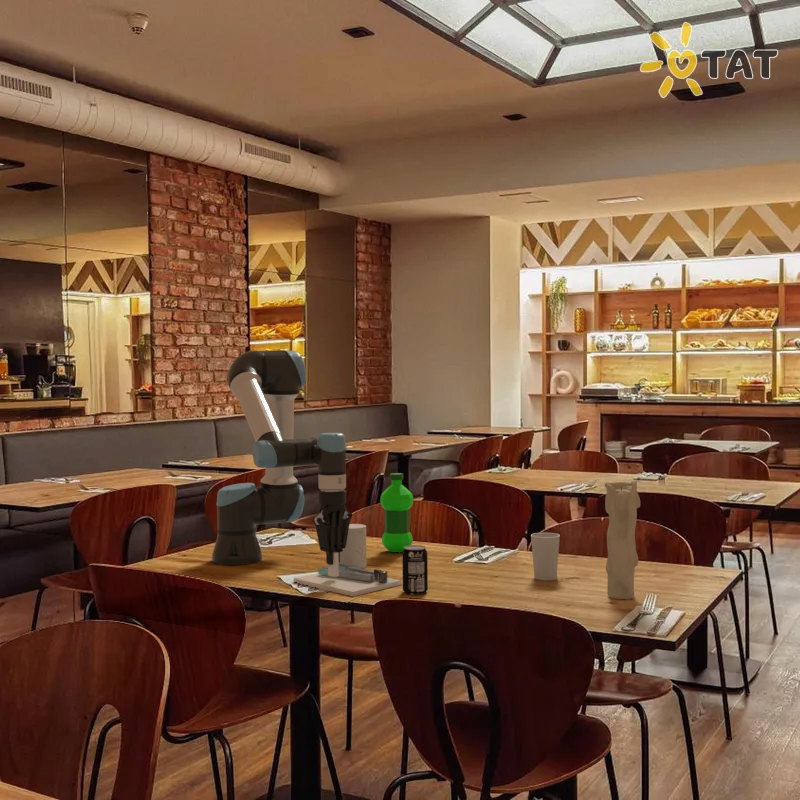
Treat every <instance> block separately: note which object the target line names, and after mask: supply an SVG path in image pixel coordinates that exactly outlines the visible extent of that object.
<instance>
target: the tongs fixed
mask: <svg viewBox="0 0 800 800" xmlns="http://www.w3.org/2000/svg"><path fill="white" fill-rule="evenodd" d="M339 570H345V571H352V572H360V573H367V574H374V578H375V580H377V581H379V583H387V582H388V578H389V577H388V571H387V570H386V571H385V570H382V569H378V568H375V569H366V568H357V567H352V566H348V565H343V564H339Z"/></svg>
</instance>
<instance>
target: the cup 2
mask: <svg viewBox="0 0 800 800" xmlns="http://www.w3.org/2000/svg"><path fill="white" fill-rule="evenodd" d="M560 537H561V535H560V534H559V533H556V532H555V533H554V532H535V533H532V534H531V535H530V541H531V542H530V543H531V550H532V551H531V552H532V553H531V554H532V564H533V573H534V574H533V578H534V579H535V580H539V581H554V580H557V579H558V565H559V564H558V563H559V547H560V539H561V538H560Z"/></svg>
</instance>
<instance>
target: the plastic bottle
mask: <svg viewBox="0 0 800 800" xmlns="http://www.w3.org/2000/svg"><path fill="white" fill-rule="evenodd" d="M389 480H390V481H391V484H390V485H389V486H388V487H387V488H386V489H385V490H384V491H383V492H382V493H381V495H380V496H379V497H380V500H379V501H380V506H381V507H382V508H383V509H384V532H383V534H382V536H381V542H382V545H383V547H384V548H385V549H386V550H387V551H388V552H389V551H390V552H403V551H404V547H405V546H409V545H412V544H413V542H414V541H413V539H414V538H413V536H412V533H411V531H410V509H411V508H412V507H413V506H414V505H413V504H414V495H413V493H412V492H411V491H410V490H409V489H408V488H407V487H405V486H404V484H402V481H403V480H404V473H401V472H395V473H394V472H393V473H389ZM390 552H389V553H390Z"/></svg>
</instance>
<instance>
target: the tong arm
mask: <svg viewBox="0 0 800 800" xmlns="http://www.w3.org/2000/svg"><path fill="white" fill-rule="evenodd" d="M317 573H318V574H320V575H327V576H328V567H319V568H318V572H317ZM337 577H342V578H349V579H355V580H362V581H369V582H371V581H374V580H375V578H374V574H367V573H360V572H352V571H345V570H339V576H337Z"/></svg>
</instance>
